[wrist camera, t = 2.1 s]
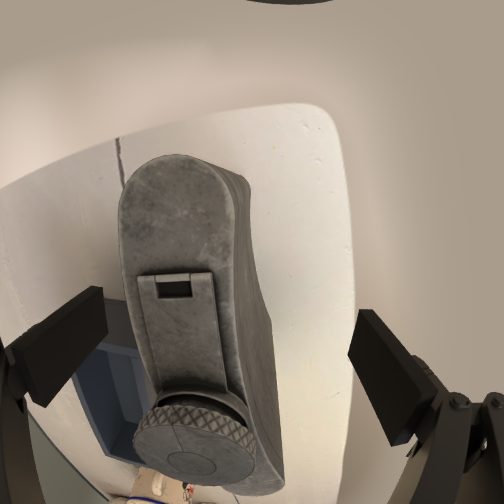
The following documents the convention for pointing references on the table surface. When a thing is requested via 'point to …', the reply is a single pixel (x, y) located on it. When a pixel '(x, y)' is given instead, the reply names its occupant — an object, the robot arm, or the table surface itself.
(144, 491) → the teacup with lid
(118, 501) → the fossil replica
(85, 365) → the holder
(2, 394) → the robot arm
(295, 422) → the table surface
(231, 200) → the flask
